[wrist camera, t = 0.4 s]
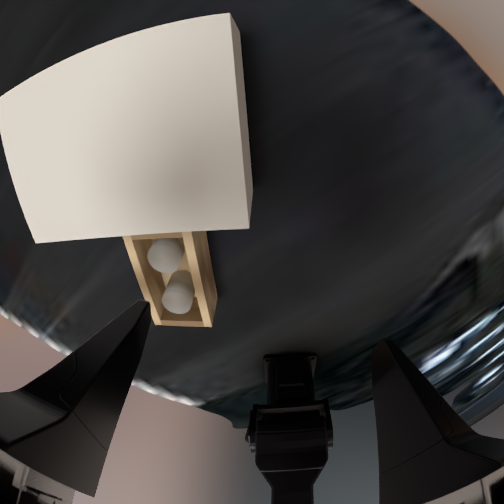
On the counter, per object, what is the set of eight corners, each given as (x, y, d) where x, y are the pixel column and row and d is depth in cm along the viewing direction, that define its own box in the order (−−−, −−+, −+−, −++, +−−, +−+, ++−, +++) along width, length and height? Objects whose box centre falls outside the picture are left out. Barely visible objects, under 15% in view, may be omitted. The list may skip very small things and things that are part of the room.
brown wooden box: (217, 296, 28) (211, 326, 25) (165, 296, 29) (155, 324, 25) (201, 203, 23) (190, 228, 19) (140, 208, 23) (121, 232, 20)
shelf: (252, 189, 21) (249, 228, 16) (71, 208, 23) (35, 243, 18) (239, 32, 15) (229, 12, 10) (43, 87, 16) (-5, 100, 11)
